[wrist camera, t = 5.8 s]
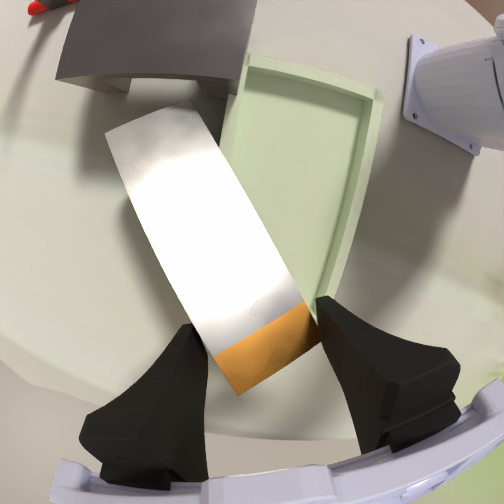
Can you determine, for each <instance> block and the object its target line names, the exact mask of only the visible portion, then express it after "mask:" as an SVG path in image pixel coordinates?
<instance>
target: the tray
mask: <svg viewBox="0 0 504 504" xmlns="http://www.w3.org/2000/svg"><path fill="white" fill-rule="evenodd" d="M384 98H385V92H382V91H380V90H377V89H375V88H372V87H370V86H367V85H365V84H362V83H359V82H357V81H354V80H351V79H348V78H345V77H342V76H339V75H336V74H333V73H329V72H326V71H323V70H319V69H316V68H312V67H309V66H305V65H301V64H297V63H293V62H288V61H284V60H279V59H275V58H270V57H265V56H259V55H253V54H247V53H246V55H245V59H244V64H243V69H242V74H241V79H240V84H239V89H238V94H237V95H231V94H229V95H228V100H227V105H226V110H225V116H224V121H223V127H222V133H221V139H220V144H219V149H220V151H221V152H222V154H223V156H224V157H225V159H226V161H227V163H228V164H229V166H230V168H231V170H232V171H233V173H234V175H235V176H236V178H237V180H238V182H239V183H240V185H241V187H242V189H243V190H244V192H245V194H246V196H247V197H248V199H249V201H250V203H251V205H252V206H253V208H254V210H255V212H256V213H257V215H258V217H259V219H260V221H261V222H262V224H263V226H264V228H265V229H266V231H267V233H268V235H269V237H270V238H271V240H272V242H273V244H274V246H275V248H276V249H277V251H278V253H279V255H280V257H281V258H282V260H283V262H284V264H285V266H286V268H287V269H288V271H289V273H290V275H291V277H292V279H293V280H294V282H295V284H296V286H297V288H298V290H299V292H300V293H301V295H302V297H303V299H304V301H305V303H306V305H307V307H308V308H309V310H310V312H311V314H312V316H313V318H314V320H315V322H316V323H317V313H316V302H315V298H318V297H322V296H326V295H328V296H330V297H331V298H333V299H334V298H335V295H336V292H337V289H338V286H339V283H340V280H341V277H342V274H343V271H344V268H345V265H346V261H347V258H348V255H349V252H350V248H351V245H352V242H353V238H354V235H355V231H356V228H357V224H358V221H359V217H360V213H361V209H362V206H363V202H364V198H365V194H366V190H367V185H368V181H369V177H370V173H371V168H372V164H373V159H374V154H375V149H376V144H377V139H378V134H379V128H380V123H381V117H382V111H383V105H384ZM317 325H318V324H317Z"/></svg>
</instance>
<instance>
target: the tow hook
mask: <svg viewBox="0 0 504 504" xmlns="http://www.w3.org/2000/svg"><path fill="white" fill-rule="evenodd" d="M72 1H76V0H35V2H33V3H31V4H30V5H29V7H28V14H29V15H34V14H37V13H40V12H42V11H45V10H48V9H53V8H56V7H59V6H63V5H66V4H69V3H71V2H72Z"/></svg>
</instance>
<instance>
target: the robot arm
mask: <svg viewBox="0 0 504 504" xmlns="http://www.w3.org/2000/svg"><path fill="white" fill-rule="evenodd" d="M494 31H495V33H496V34H497V36H495V37H490V38H484V39H479V40H474V41H470V42H465V43H461V44H457V45H453V46H449V47H445V48H442V49H441V48H439V47H438V46H436V45H435V44H433V43H431V42H430V41H428V40H427V39H425V38H423V37H421V36H420V35H418V34H416V33H414V34H412V35H411V36H410V49H409V63H408V74H407V84H406V92H405V100H404V107H403V116H404V118H405V119H406V120H408V121H410V122H413V123H415V124H417V125H419V126H421V127H423V128H425V129H427V130H429V131H431V132H433V133H435V134H437V135H439V136H441V137H443V138H445V139H447V140H448V141H450V142H452V143H454V144H456V145H457V146H459V147H461V148H463V149H464V150H466V151H468V152H469V153H471V154H473V155H475V156H478V155H479V154H480V149H481V147H486V148H491V149H496V150H501V151H504V13H503V14H501V15H499V16H498V17H497V18H496V22H495V26H494ZM420 41H421V42H422V43H421V42H420ZM413 114H414V115H415V119H414V118H413ZM469 146H470V147H469ZM315 302H316V313H317V324H318V327H319V329H320V331H321V333H322V335H323V339H324V340H322V341H321V342H322V345H323V348H324V351H325V353H326V355H327V357H328V359H329V361H330V363H331V366H332V368H333V370H334V372H335V374H336V376H337V378H338V380H339V382H340V384H341V387H342V389H343V392H344V395H345V398H346V401H347V404H348V407H349V410H350V414H351V417H352V420H353V424H354V427H355V431H356V435H357V438H358V442H359V446H360V450H361V455H360V456H357V457H355V458H351V459H348V460H345V461H341V462H338V463H334V464H330V465H327V466H324V465H314V464H312V465H304V466H297V467H292V468H286V469H281V470H275V471H268V472H261V473H253V474H243V475H233V476H221V477H214V478H210V479H209V477H208V470H207V461H206V451H205V436H204V407H205V398H206V388H207V378H208V354H207V352H206V349H205V347H204V345H203V342H202V340H201V337H200V335H199V333H198V332H197V330H196V328H195V326H194V325H193V323H190V324H184V325H182V326H181V328H180V329H179V330H178V332H177V333H176V335H175V336H174V337H173V339H172V340H171V342H170V343H169V344H168V346H167V347H166V349H165V350H164V351H163V353H162V354H161V355H160V356H159V358H158V359H157V360H156V361H155V362H154V364H153V365H152V366H151V367H150V368H149V370H148V371H147V372H146V373H145V374H144V375H143V376H142V377H141V378H140V379H139V380H138V381H137V382H136V383H134V384H133V385H132V386H131V387H130V388H128V389H127V390H126V391H125V392H124V393H122V394H121V395H120V396H118V397H117V398H115V399H114V400H113V401H111V402H109V403H108V404H106V405H105V406H103V407H101V408H99V409H98V410H96V411H94V412H92V413H90V414H88V415H87V416H86V419H85V421H84V424H83V427H82V430H81V432H80V435H79V441H80V443H81V444H82V446H83V447H84V448H85V449H86V450H87V451H88V452H89V453H91V454H92V455H93V456H94V457H95V458H96V459H98V460H99V461H100V462H102V463H103V464H102V468H101V472H100V473H95V472H91V471H90V470H89V469H88V468H87V467H85V466H83V465H82V464H80V463H77V462H73V461H69V460H65V459H60V462H59V464H58V467H57V471H56V474H55V477H54V481H53V484H52V487H51V491H50V494H49V500H50V501H51V502H53V503H55V504H408V503H410V502H412V501H414V500H416V499H418V498H420V497H422V496H424V495H426V494H428V493H430V492H431V491H433V490H435V489H436V488H438V487H440V486H441V485H443V484H445V483H447V482H448V481H450V480H451V479H453V478H454V477H456V476H458V475H459V474H461V473H462V472H464V471H465V470H466V469H468V468H469V467H471V466H472V465H474V464H475V463H476V462H478V461H479V460H481V459H482V458H483V457H485V456H486V455H487V454H489V453H490V452H491V451H493V450H494V449H495V448H496V447H498V446H499V445H500V444H501V443H502V442H503V441H504V385H503V383H502V382H501V381H500V379H499V378H496V379H495V380H493V381H492V382H491V383H489V384H488V385H486V386H485V387H483V388H482V389H481V390H479V391H478V393H477V394H476V395H475V396H474V398H473V400H472V403H471V404H469V405H467V406H466V407H464V408H463V409H461V410H459V408H458V407H457V405H456V404H455V402H454V400H455V399H456V397H455V395H454V393H453V392H452V390H453V387H454V385H455V383H456V381H457V379H458V376H459V373H460V364H459V363H458V361H457V360H456V359H455V357H454V356H453V355H452V354H451V352H450V351H449V350H448V349H447V348H441V347H434V346H428V345H423V344H419V343H415V342H411V341H408V340H404V339H402V338H399V337H396V336H393V335H391V334H388V333H386V332H384V331H382V330H380V329H378V328H376V327H374V326H372V325H370V324H368V323H367V322H365V321H363V320H362V319H360V318H358V317H357V316H356V315H354V314H353V313H351V312H350V311H348V310H347V309H346V308H344V307H343V306H342V305H340V304H339V303H338V302H336V301H335V300H334V299H333V298H331V297H330V296H328V295H326V296H322V297H318V298H315Z"/></svg>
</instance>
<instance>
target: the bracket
mask: <svg viewBox="0 0 504 504" xmlns="http://www.w3.org/2000/svg"><path fill="white" fill-rule="evenodd" d="M256 4H257V0H79V3H78V5H77V8H76V10H75V13H74V16H73V19H72V21H71V24H70V27H69V30H68V33H67V36H66V40H65V43H64V46H63V50H62V54H61V57H60V61H59V65H58V70H57V74H56V79H55V80H58V81H62V82H66V83H70V84H74V85H78V86H82V87H85V88H89V89H92V90H96V91H99V92H103V93H107V92H129V87H130V82H131V78H162V79H182V80H195V81H197V82H198V84H199V85H200V87H201V89H202V90H203V92H204V94H205V95H206V96H209V97H217V98H225V99H228V95H229V94H231V95H237V94H238V89H239V84H240V79H241V74H242V69H243V64H244V59H245V55H246V52H247V47H248V43H249V38H250V33H251V28H252V23H253V18H254V13H255V8H256Z"/></svg>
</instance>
